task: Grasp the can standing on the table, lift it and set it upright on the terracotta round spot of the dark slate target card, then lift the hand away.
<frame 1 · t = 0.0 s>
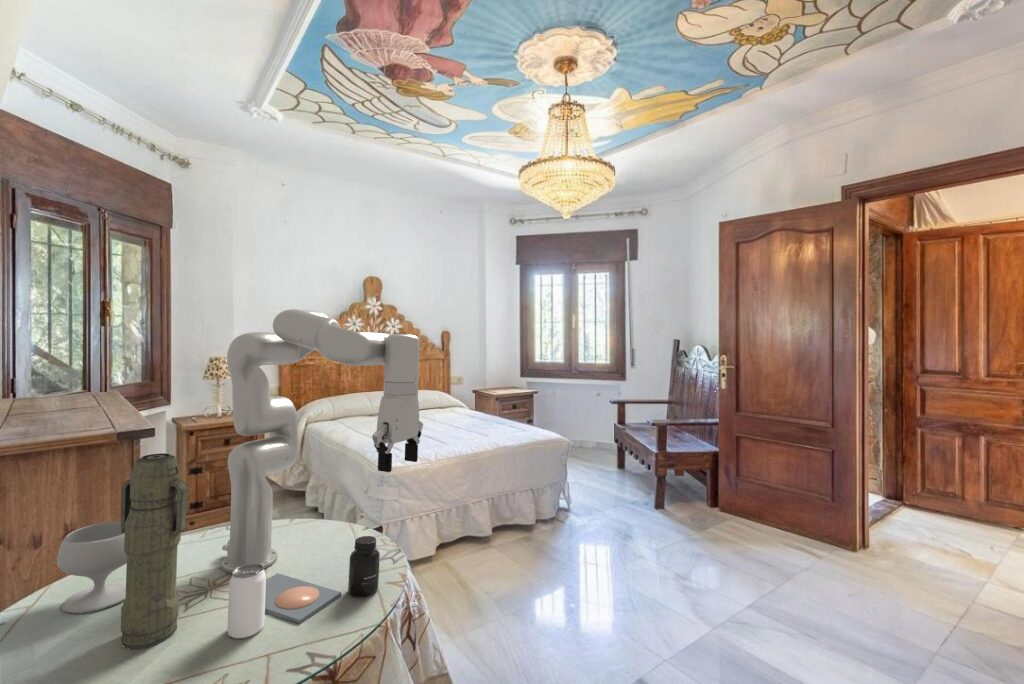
hand: (398, 465, 105), 31 cm above the table, tool pointing down, fingers open, 9 cm apart
chalice: (99, 600, 103), on the table
target card: (287, 598, 106), on the table
supplement bottle: (363, 591, 111), on the table
can: (246, 630, 95), on the table
thermos: (150, 635, 92), on the table
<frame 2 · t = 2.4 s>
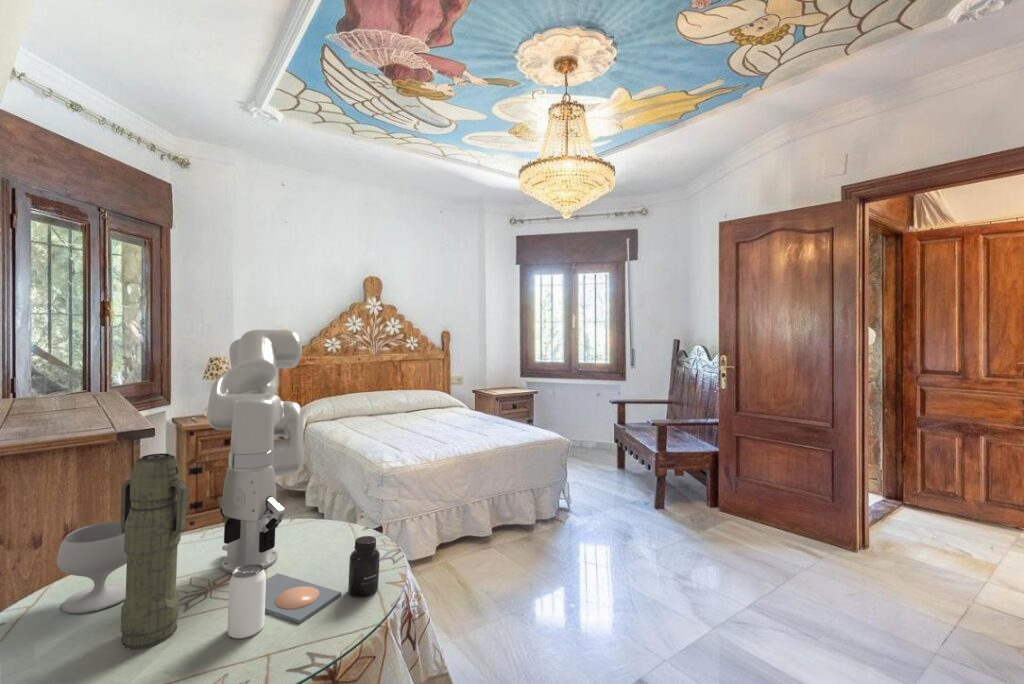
hand: (249, 545, 94), 17 cm above the table, tool pointing down, fingers open, 9 cm apart
nothing on the table moved.
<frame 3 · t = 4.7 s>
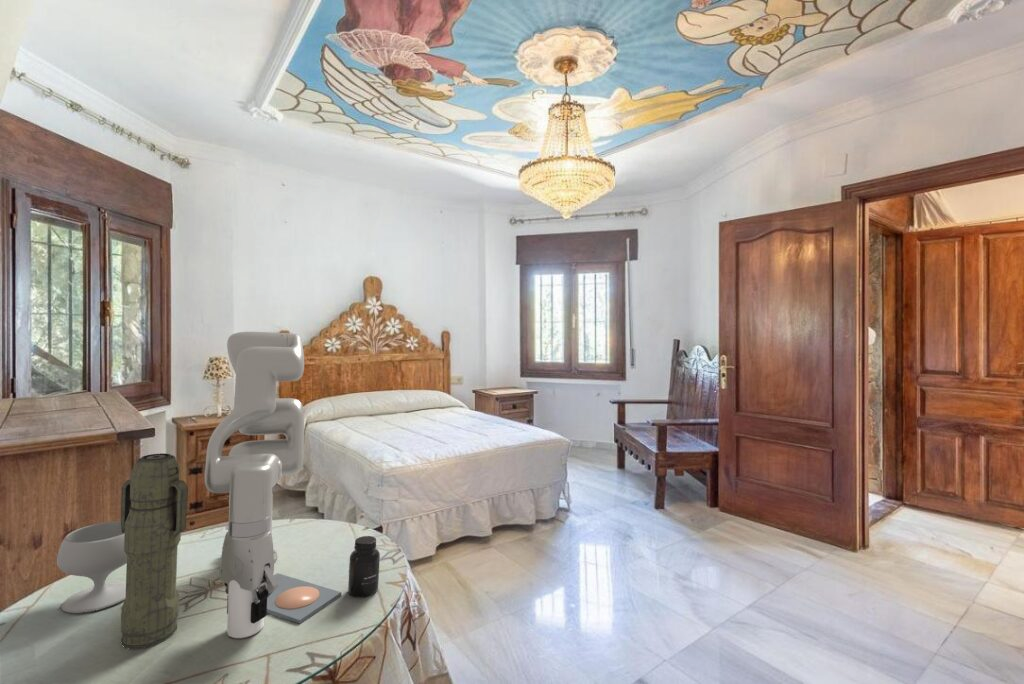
hand: (246, 614, 94), 3 cm above the table, tool pointing down, fingers closed on can, 5 cm apart
can: (245, 630, 95), on the table, touching gripper
everything else where it was.
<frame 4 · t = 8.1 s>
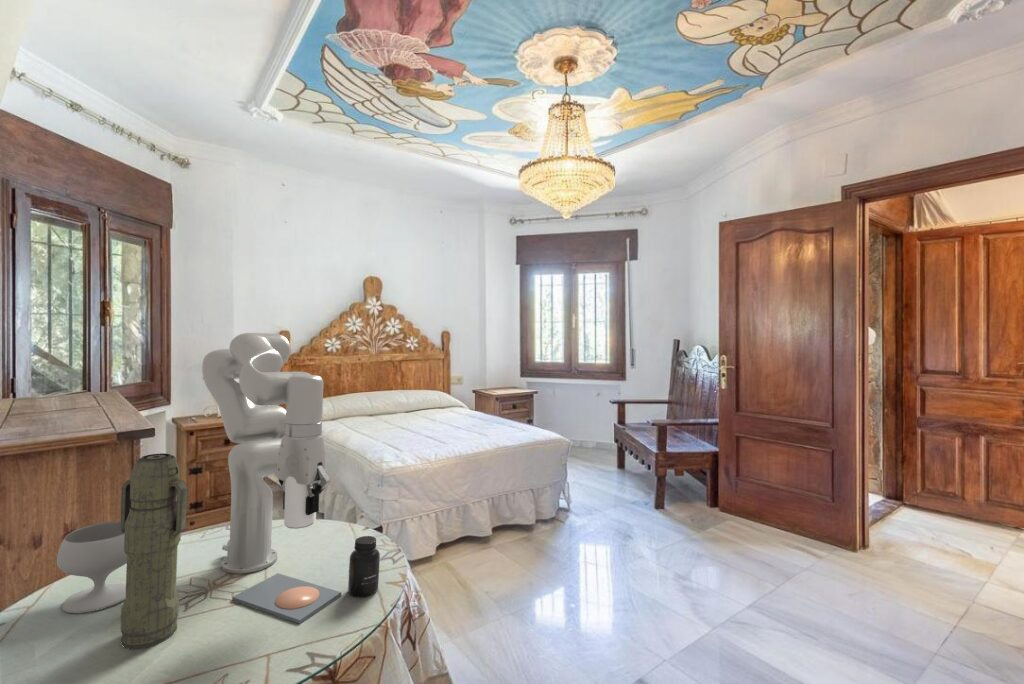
hand: (300, 509, 105), 21 cm above the table, tool pointing down, fingers closed on can, 5 cm apart
can: (300, 524, 105), point 17 cm above the table, touching gripper
everything else where it was.
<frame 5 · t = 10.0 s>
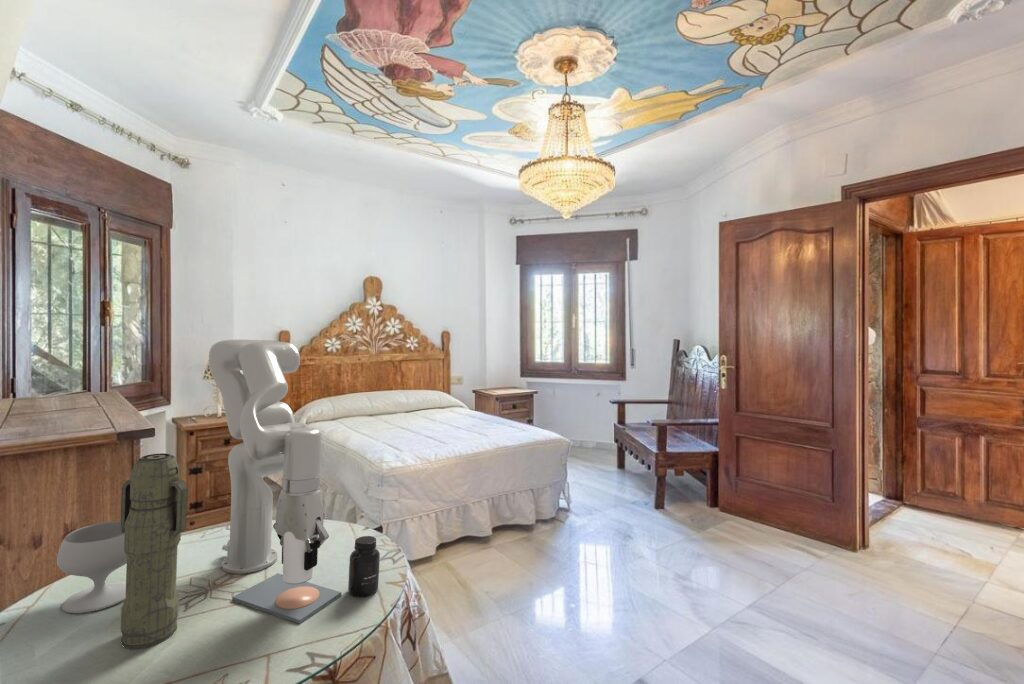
hand: (299, 563, 105), 8 cm above the table, tool pointing down, fingers closed on can, 5 cm apart
can: (298, 578, 105), point 5 cm above the table, touching gripper
everything else where it was.
when the fingers open (5 cm above the table, at t = 11.7 s): can stays where it is, resting on target card.
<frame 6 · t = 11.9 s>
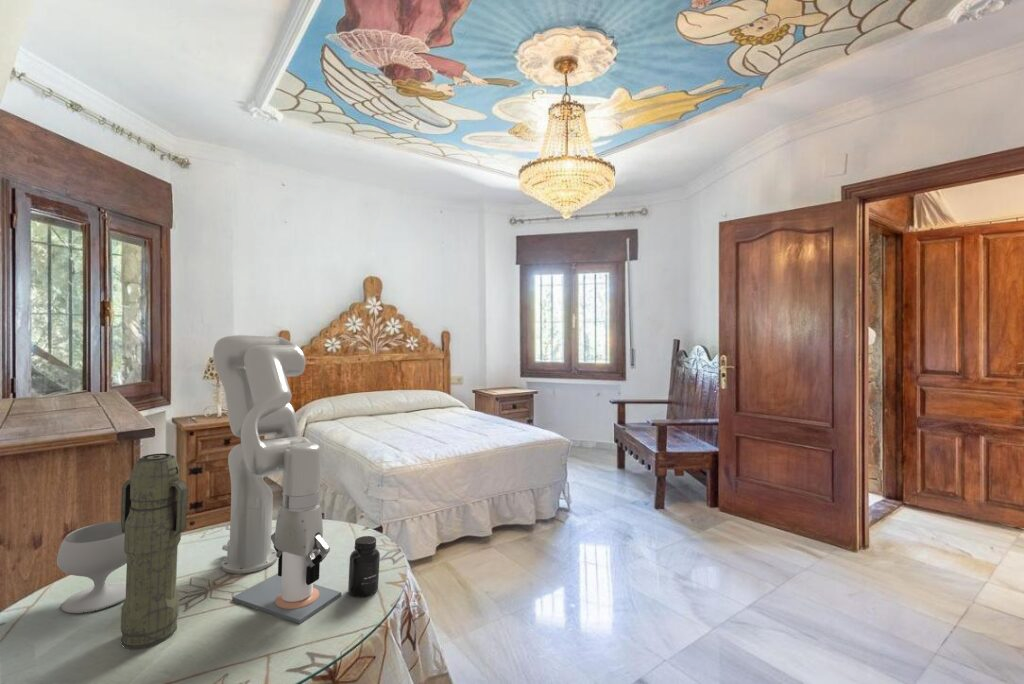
hand: (298, 577, 105), 5 cm above the table, tool pointing down, fingers open, 7 cm apart
can: (297, 596, 106), point 1 cm above the table, touching target card
everything else where it was.
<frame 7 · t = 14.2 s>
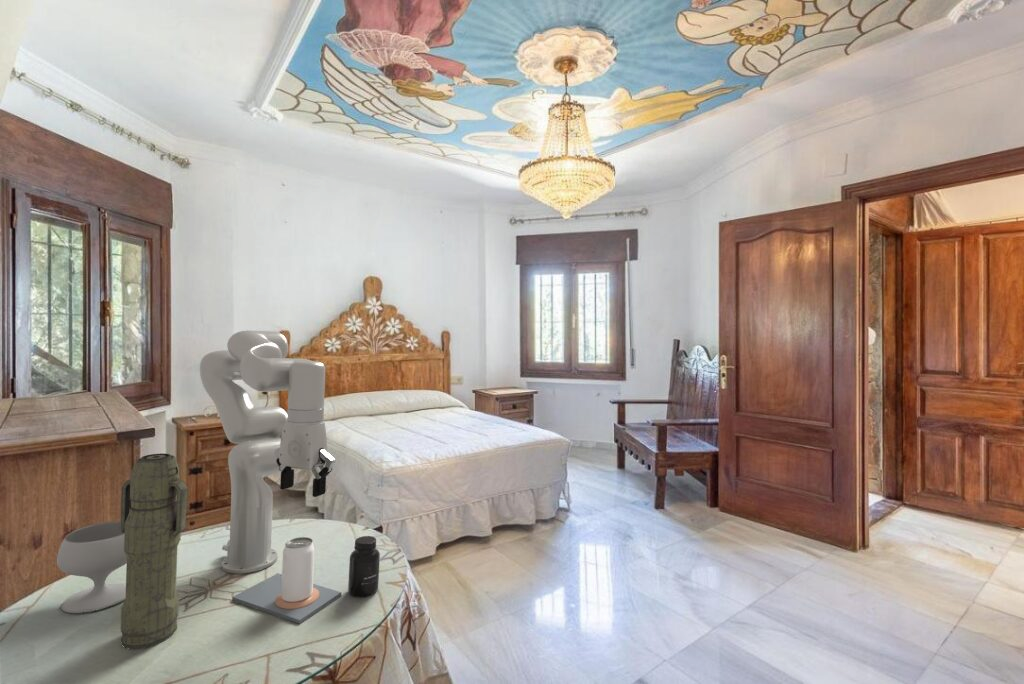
hand: (302, 491, 106), 24 cm above the table, tool pointing down, fingers open, 9 cm apart
nothing on the table moved.
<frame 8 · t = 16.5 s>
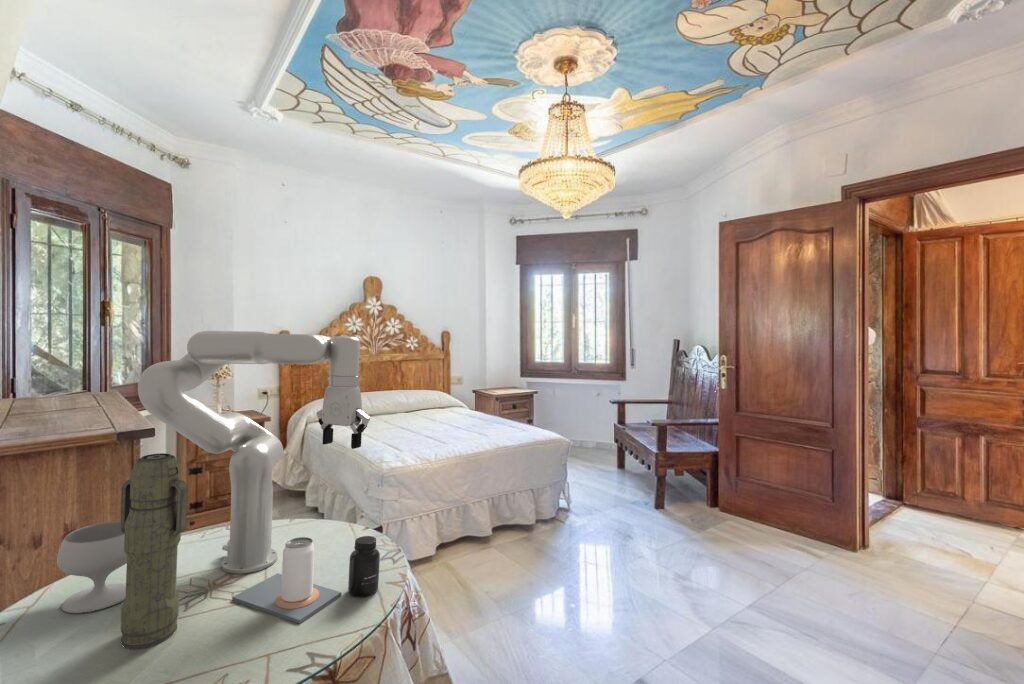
hand: (341, 445, 126), 30 cm above the table, tool pointing down, fingers open, 9 cm apart
nothing on the table moved.
at the end: can 0.6 cm from the target spot, point 0.8 cm above the table; can tilted 0°; the gripper is holding nothing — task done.
